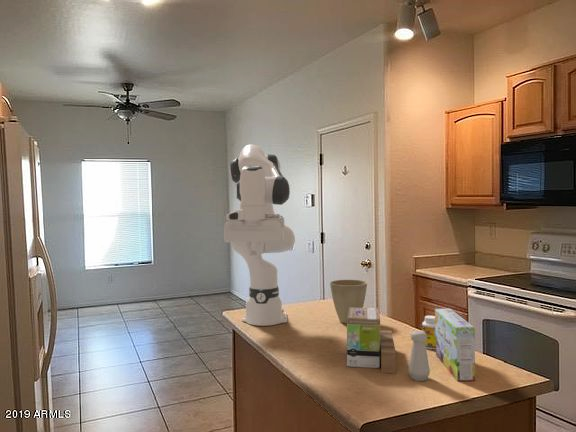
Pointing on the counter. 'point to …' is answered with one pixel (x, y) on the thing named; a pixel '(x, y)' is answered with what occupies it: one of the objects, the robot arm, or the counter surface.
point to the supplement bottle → (429, 332)
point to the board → (387, 352)
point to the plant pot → (347, 296)
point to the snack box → (455, 344)
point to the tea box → (363, 337)
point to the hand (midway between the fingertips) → (254, 255)
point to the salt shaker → (419, 357)
